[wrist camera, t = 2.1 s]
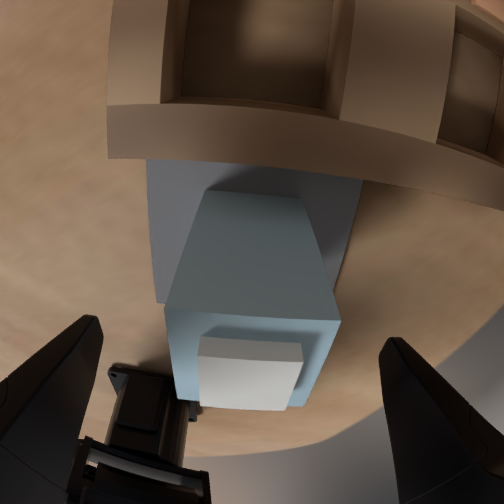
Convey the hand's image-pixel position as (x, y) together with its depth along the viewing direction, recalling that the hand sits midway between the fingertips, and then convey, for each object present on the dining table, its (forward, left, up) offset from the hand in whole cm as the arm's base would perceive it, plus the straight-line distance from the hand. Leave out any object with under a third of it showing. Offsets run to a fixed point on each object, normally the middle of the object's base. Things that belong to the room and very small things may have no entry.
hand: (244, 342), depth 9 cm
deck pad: (0, 0, -6) cm, 6 cm away
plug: (0, 0, -6) cm, 6 cm away
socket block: (+10, -4, -6) cm, 12 cm away
